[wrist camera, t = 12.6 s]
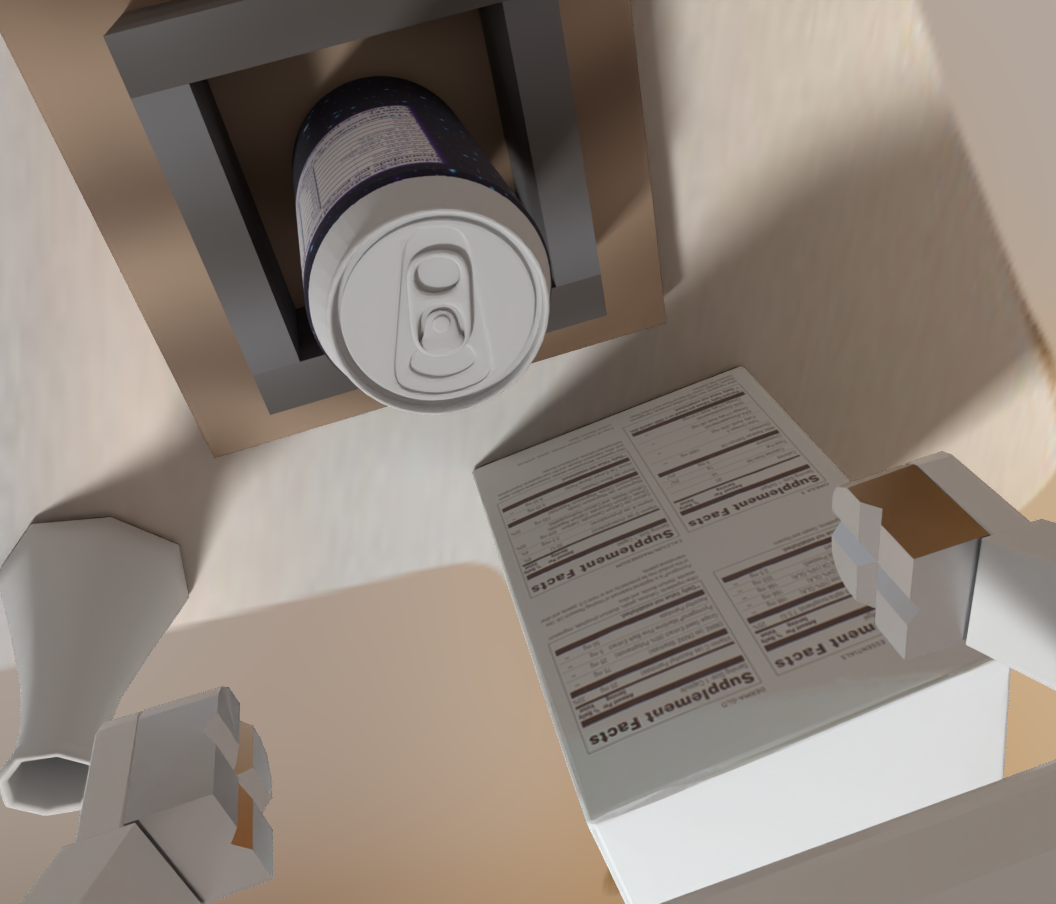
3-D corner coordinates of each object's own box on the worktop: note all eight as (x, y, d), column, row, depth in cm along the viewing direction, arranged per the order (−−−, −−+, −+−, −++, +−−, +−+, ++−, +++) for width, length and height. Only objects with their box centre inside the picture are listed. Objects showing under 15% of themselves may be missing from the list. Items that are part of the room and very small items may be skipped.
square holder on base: (-48, -97, 24) (-117, -86, 20) (585, -247, 26) (654, -269, 21) (216, 437, 35) (209, 522, 30) (652, 307, 36) (707, 370, 32)
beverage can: (305, 254, 30) (325, 445, 20) (277, 75, 27) (287, 200, 17) (470, 239, 31) (565, 413, 21) (463, 65, 28) (570, 177, 18)
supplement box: (780, 566, 47) (1005, 874, 32) (545, 660, 46) (670, 1015, 32) (746, 357, 39) (1023, 646, 25) (463, 469, 38) (581, 827, 24)
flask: (206, 526, 37) (190, 716, 29) (173, 653, 40) (150, 855, 32) (8, 497, 34) (-71, 698, 26) (-11, 635, 37) (-87, 853, 29)
